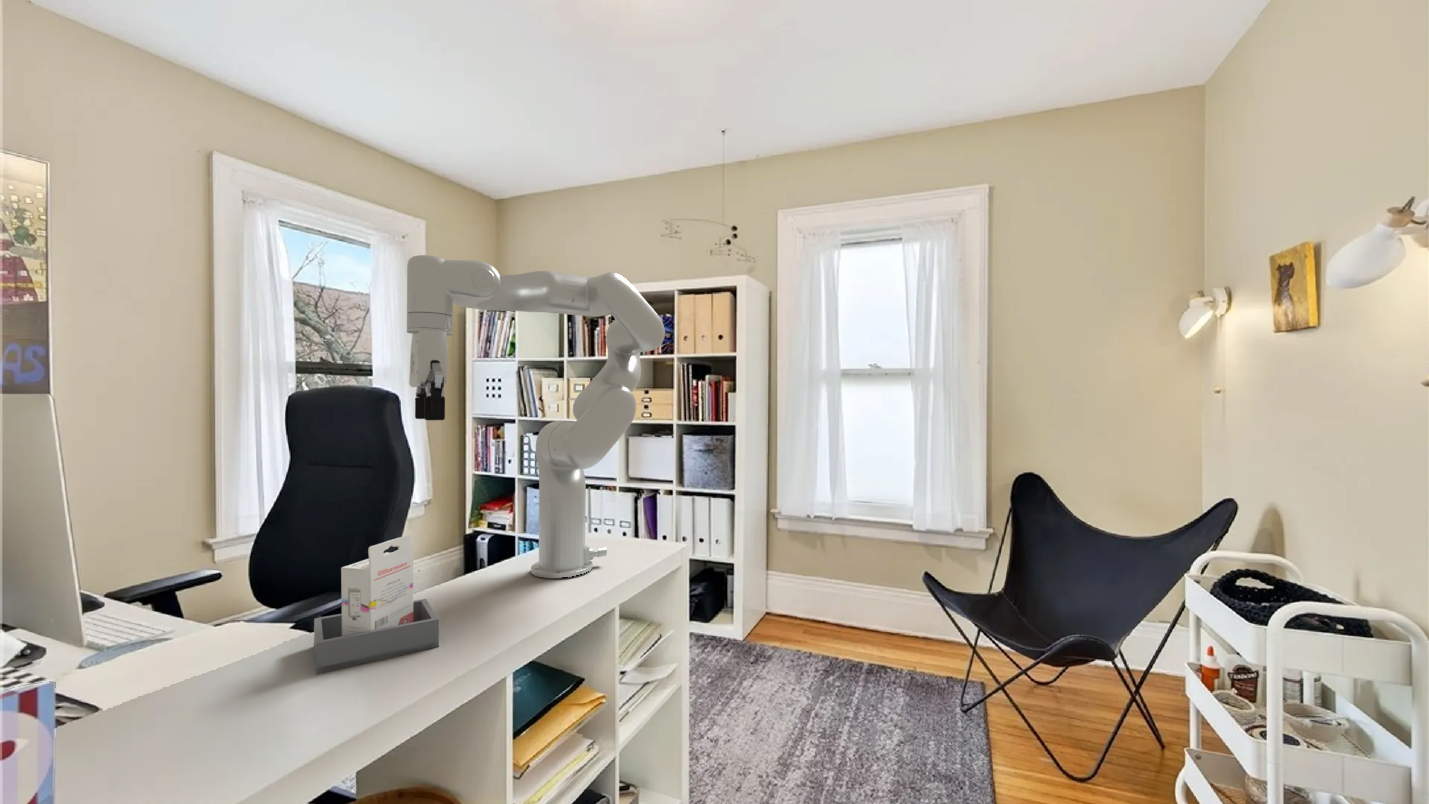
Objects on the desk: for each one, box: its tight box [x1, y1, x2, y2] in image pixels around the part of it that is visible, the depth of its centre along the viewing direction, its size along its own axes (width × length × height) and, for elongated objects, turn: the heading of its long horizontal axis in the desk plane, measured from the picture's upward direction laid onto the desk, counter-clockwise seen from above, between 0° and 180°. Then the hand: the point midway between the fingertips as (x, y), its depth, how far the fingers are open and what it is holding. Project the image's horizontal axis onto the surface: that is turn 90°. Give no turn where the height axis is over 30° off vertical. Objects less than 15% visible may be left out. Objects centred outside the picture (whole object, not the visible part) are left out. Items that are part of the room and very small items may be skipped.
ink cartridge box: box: [340, 534, 414, 636], centre depth 83 cm, size 9×5×15 cm, turn 168°
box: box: [313, 598, 440, 675], centre depth 83 cm, size 15×11×4 cm
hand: (429, 419), depth 104 cm, fingers open, 9 cm apart
